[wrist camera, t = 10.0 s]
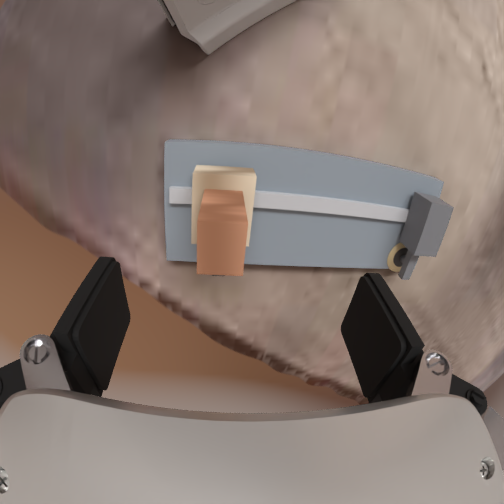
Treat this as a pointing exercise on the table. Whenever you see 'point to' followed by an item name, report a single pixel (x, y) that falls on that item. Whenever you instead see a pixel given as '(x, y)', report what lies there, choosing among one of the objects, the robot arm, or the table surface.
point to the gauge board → (313, 207)
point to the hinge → (217, 18)
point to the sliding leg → (222, 217)
